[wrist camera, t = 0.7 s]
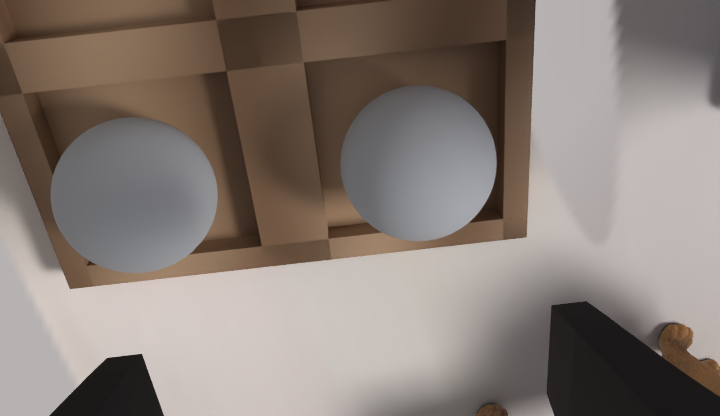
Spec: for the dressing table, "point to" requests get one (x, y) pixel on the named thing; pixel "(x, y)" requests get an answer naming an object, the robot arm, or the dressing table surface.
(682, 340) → the lion figurine
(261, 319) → the dressing table surface
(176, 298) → the dressing table surface
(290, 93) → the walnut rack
